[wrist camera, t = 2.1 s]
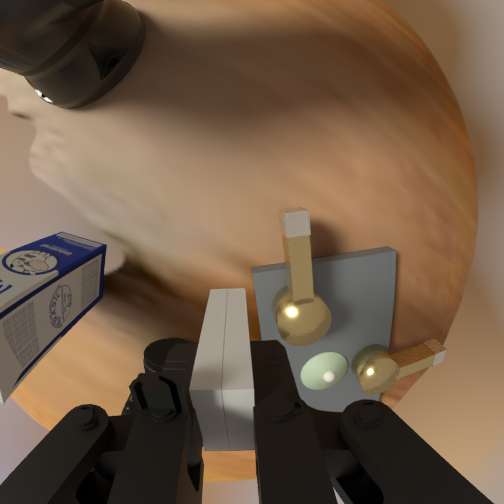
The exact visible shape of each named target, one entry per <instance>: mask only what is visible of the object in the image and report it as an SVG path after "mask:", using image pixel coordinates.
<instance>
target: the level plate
mask: <svg viewBox="0 0 504 504" xmlns="http://www.w3.org/2000/svg"><path fill="white" fill-rule="evenodd" d="M311 261H312V276H313V288H314V289H315V290H316V291H317V293H318V294H319V295H320V297H321V298H322V300H323V301H324V302H325V304H326V305H327V307H328V308H329V310H330V312H331V325H330V328H329V330H328V332H327V333H326V334H325V336H324V337H323V338H321V339H320V340H319V341H317V342H316V343H314V344H311V345H308V346H294V345H291V344H289V343H287V342H286V341H284V340H283V339H282V337H281V336H280V334H279V331H278V328H277V324H276V320H275V317H274V313H273V309H272V305H273V300H274V297H275V296H276V294H277V293H278V291H279V290H280V289H282V288H283V287H284V286H286V285H287V277H286V267H285V263H279V264H272V265H265V266H258V267H252V274H253V281H254V289H255V296H256V303H257V310H258V317H259V324H260V331H261V338H262V341H264V340H278V341H279V342H280V343H281V344H282V345H283V346H284V347H285V348H286V352H287V355H288V359H289V362H290V366H291V369H292V372H293V376H294V379H295V383H296V386H297V389H298V393H299V395H300V398H301V399H302V400H303V401H305V403H306V404H307V405H309V406H310V407H312V408H315V409H317V410H322V411H331V412H343V411H344V409H345V408H346V406H348V405H349V404H351V403H352V402H354V401H358V400H362V399H373V400H376V401H379V398H380V394H381V393H380V394H377V395H368V394H366V393H365V392H364V391H363V389H362V387H361V386H360V384H359V382H358V380H357V379H356V377H355V375H354V374H353V372H352V370H351V364H352V361H353V359H354V357H355V356H356V355H357V354H358V353H359V352H360V351H361V350H362V349H364V348H366V347H368V346H370V345H380V346H382V347H383V348H384V349H385V350H386V351H387V352H388V350H389V343H390V335H391V327H392V317H393V307H394V294H395V276H396V250H394V249H392V248H390V247H382V248H375V249H369V250H363V251H357V252H351V253H344V254H338V255H331V256H325V257H319V258H312V259H311Z"/></svg>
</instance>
